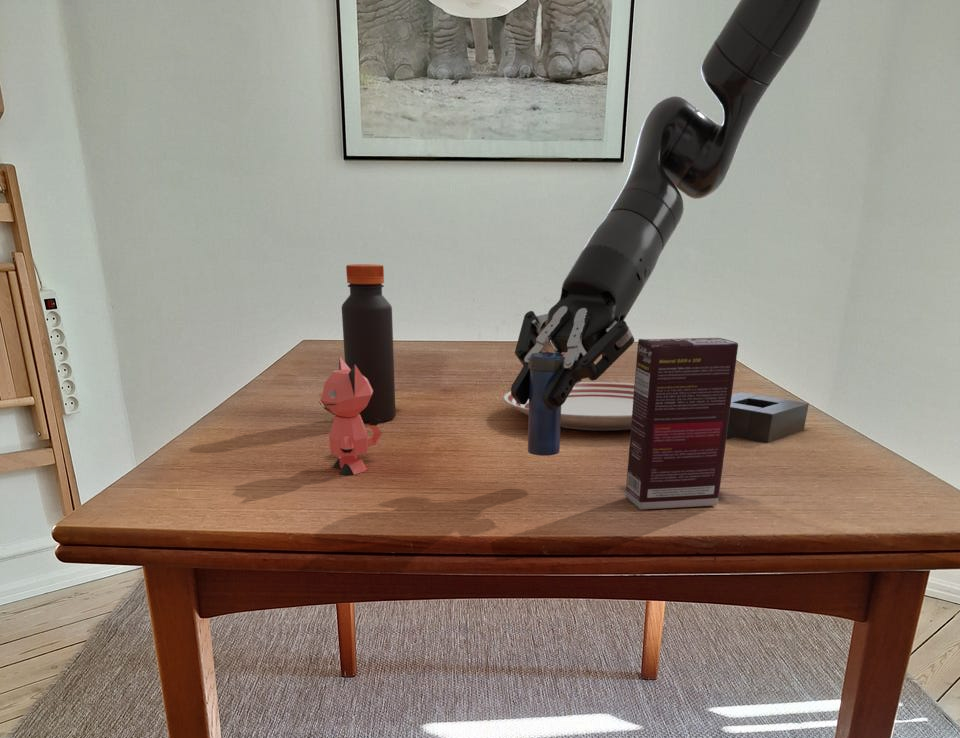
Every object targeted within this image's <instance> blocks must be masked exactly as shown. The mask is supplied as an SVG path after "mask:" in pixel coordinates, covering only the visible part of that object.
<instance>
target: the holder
mask: <svg viewBox="0 0 960 738" xmlns="http://www.w3.org/2000/svg"><path fill="white" fill-rule="evenodd" d="M809 404H810V403H809V402H805V401H798V400H797V401H796V400H791V399H785V398H778V397H772V396H765V395H760V394H759V395H758V394H753V393H748V392H747V393H746V392H741V391H740V392H736V393H732V397H731V405H730V413H729V422H728V429H727V437H726V441H727V440H731V439H733V438H740V439H744V440H745V439H746V440H751V441H755V442H760V443H766V444H769V443H772V442H775V441H777V440H781V439H783V438H788V437H790V436H792V435H795V434H797V433H801V432H803V431H805V426H806V422H807V416H808V410H809V406H810V405H809Z"/></svg>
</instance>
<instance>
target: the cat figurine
mask: <svg viewBox="0 0 960 738" xmlns="http://www.w3.org/2000/svg"><path fill="white" fill-rule="evenodd" d="M338 357H339V359H338V361H339V362H338V369H336V370H334V371H333V372H332V373H331V374H330V375H329V377H328V378H327V379H326V381H324V385H323V390H322V393H321V392H319V395H321V397H320V401H318V403H319V404H320V406H321V407H322V408H323V410H326V412H328V413H330V414H332V415H334V417H333V421H332V424H331V428H330V432H329V435H328V441H329V448H330V454H331V455H333V456H337V457H338V458H337V459H336V461H335V462H334V463H333V464H332V467H333V468H337V469H340V472H339V474H340V475H342V476H354V475H358V474H361V473H365V472H366V471H367V470H368V468H367V466H366V465H365V463H364V461H363V460H362V458H360V457H357V456H365V455H367V454H368V447H373V446H375V445H376V443H377V442H378V440H379V439H380V437H381V436H382V434H383V432H382V431H381V429H380V428H379V427H378V425H379V424H380V423H382V422H381V421H380V420H378V419H374V420H373V421H372V422H371V423H369V424H368V427H369V428H370V430H372V432H373V434H372V436H371V438H369V434H368V431H367V428H366V425H365V422H363V421H362V418H361V416H360V414H359V413H360V412H361V411H362V410H363V409H365V408H366V407H367V405H368V403H369V400H370V398H371V396H372V393H373V389H372V387H371V385H370V383H369V381H368V379H367V378H365V377H364V376H363V375H362V374H361V372H360V371H359V369H358V368H357V366H356V365H354V366H353V368H352V369H350V368H349V367H348V366H347V364H346V363H345V360H343V358H342V357H341V356H340V355H339V356H338Z"/></svg>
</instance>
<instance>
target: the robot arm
mask: <svg viewBox="0 0 960 738" xmlns="http://www.w3.org/2000/svg"><path fill="white" fill-rule="evenodd" d="M820 3H821V0H739V2H738V4H737V5H736V7H735V8H734V9H733V12H732V13H731V14H730V16H729V18H728V19H727V21H726V22H725V24H724V26H723V27H722V29H721V30H720V32H719V34H718V35H717V37H716V39H715V40H714V41H713V43H712V45H711V46H710V48H709V50H708V51H707V53H706V54H705V57H704V59H703V60H702V63H701V67H700V74H701V77H702V80H703V81H704V83H705V85H706V87H708V89H709V90H710V91H711V93H712V94H713V95H714V96H715V98H716V99H717V101H718V102H719V104H720V106H721V107H722V110H723V111H722V112H723V121H722V124H718V123H717V122H716V121H714V120H713V119H712V118H711V117H710V116H708V115H707V114H705V113H704V111H701V109H699V108H697V106H695V105H694V104H693V103H691V102H690V101H688V100H687V99H685V98H683V97H681V96H678V95H672V96H668V97H666V98H663V99H661V100H660V101H659V102H658V103H656V104H655V105H654V106H653V107H652V108H651V109H650V111H649V112H648V114H647V116H646V117H645V119H644V122H643V124H642V126H641V130H640V132H639V135H638V139H637V142H636V146H635V151H634V155H633V159H632V163H631V166H630V170H629V173H628V176H627V179H626V181H625V183H624V186H623V187H622V189H621V191H620V192H619V194H618V196H617V197H616V199H615V201H614V203H612V205H611V207H610V209H609V210H608V212H607V214H606V216H605V217H604V219H603V220H602V221H601V222H600V223H599V225H597V227H596V228H595V230H594V231H593V232H592V234H591V236H590V237H589V238H588V240H587V242H586V244H585V245H584V247H583V249H582V250H581V252H580V254H579V255H578V257H577V258H576V260H575V262H574V263H573V265H572V267H571V269H570V270H569V271H568V273H567V274H566V276H565V278H564V280H563V282H562V285H561V293H560V298H559V299H558V301H557V302H556V303H555V304H554V305H553V306H551V308H550V309H549V310H548V312H547V313H545V314H540V315H536V313H535V312H534V311H533V310H529V311H527V312H526V313H525V314H524V317H523V321H522V324H521V328H520V330H519V335H518V339H517V343H516V345H515V350H514V355H515V356H516V357H517V359H518V360H519V362H520V364H521V365H522V368H520V369H521V370H519V373H518V374H517V376H516V378H515V379H514V381H513V382H512V384H511V387H510V391H511V395H512V396H513V398H514V399H515V401H516V402H517V403H518V404H523V405H525V404H526V403H527V401H528V399H529V385H530V369H529V356H530V355H531V354H533V353H542V352H550V353H560V354H563V356H564V357H565V360H564V363H563V367H564V369H558V371H557V372H556V374H555V376H554V377H553V379H552V381H551V382H550V384H549V386H548V387H547V389H546V391H545V392H544V394H543V396H542V400H543V402H544V404H545V405H546V407H547V408H548V409H549V410H553V411H556V410H557V409H558V408H559V406H561V405H562V404H563V403H564V402H565V401H566V399H567V397H568V396H569V394H570V392H571V390H572V389H573V387H574V385H575V384H576V383H579V382H583V379H588V380H589V381H590V382H595V381H596V380H598V379H599V378H600V377H601V376H602V375H603V374H604V373H605V372H606V371H607V370H608V369H609V368H610V367H611V366H612V365H613V364H614V363H616V361H617V360H618V359H619V358H620V357H621V356H622V355H624V353H625V352H626V351H627V350H628V349H629V348H630V347H631V346H632V345H633V344H634V343H635V338H634V335H633V333H632V331H631V329H630V327H629V326H628V324H627V322H626V321H625V319H626V317H627V316H628V314H629V312H630V311H631V309H632V308H633V306H634V304H635V302H636V301H637V299H638V297H639V296H640V294H641V292H642V291H643V289H644V287H645V285H646V284H647V282H648V281H649V278H650V277H651V276H652V274H653V272H654V270H655V268H656V266H657V263H658V260H659V258H660V256H661V255H662V252H663V251H664V249H665V247H666V245H667V244H668V242H669V240H670V239H671V237H672V235H673V234H674V232H675V230H676V229H677V227H678V225H679V224H680V221H681V219H682V217H683V215H684V210H685V206H684V200H683V199H684V198H683V196H682V194H681V193H683V194H684V195H685V196H687V197H688V198H691V199H694V200H697V199H703V198H706V197H707V196H709V195H711V194H713V193H714V192H715V191H716V190H718V189H719V188H720V186H721V185H722V184H723V182H724V180H725V179H726V178H727V175H728V173H729V171H730V169H731V166H732V163H733V161H734V159H735V156H736V153H737V152H738V149H739V146H740V143H741V140H742V138H743V135H744V133H745V130H746V129H747V126H748V124H749V122H750V120H751V118H752V116H753V114H754V112H755V110H756V108H757V106H758V105H759V103H760V102H761V100H762V98H763V96H764V95H765V93H766V92H767V91H768V89H769V88H770V86H771V84H772V83H773V82H774V80H776V78H777V76H778V75H779V73H780V72H781V71H782V69H783V67H784V66H785V65H786V64H787V62H788V60H789V59H790V58H791V56H792V55H793V53H794V52H795V50H796V49H797V48H798V46H799V44H800V43H801V41H802V40H803V38H804V37H805V35H806V33H807V31H808V29H809V28H810V25H811V23H812V21H813V19H814V17H815V15H816V14H817V13H816V12H817V10H818V8H819V5H820ZM551 343H552V344H551ZM600 357H601V358H600ZM599 358H600V359H599ZM597 359H599V360H598V362H596V361H597ZM595 362H596V363H595Z"/></svg>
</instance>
